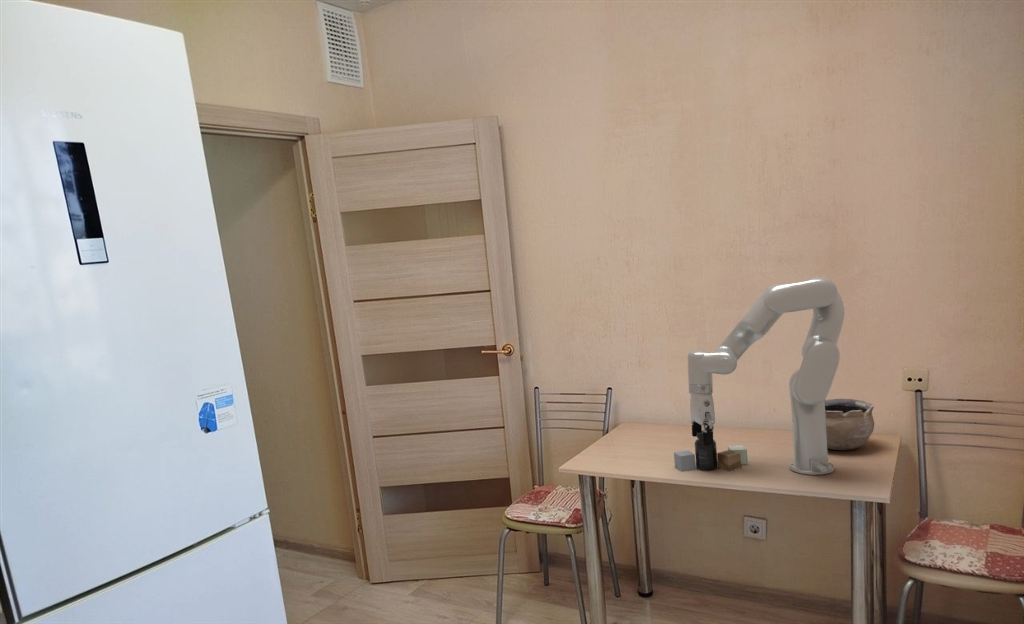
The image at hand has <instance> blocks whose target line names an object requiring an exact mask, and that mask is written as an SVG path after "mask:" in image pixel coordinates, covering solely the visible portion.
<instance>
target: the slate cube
mask: <svg viewBox="0 0 1024 624" xmlns="http://www.w3.org/2000/svg"><path fill="white" fill-rule="evenodd" d="M673 457H674V467H675V468H676V467H677V468H678V469H677V468H676V469H677V470H679V471H680V470H681V471H680V472H684V471H685V470H686V471H691V470H692V469H693V470H696V468H697V467H696V456H695V453H693V452H692V451H690V450H679V451H674V452H673Z"/></svg>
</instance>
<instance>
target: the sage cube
mask: <svg viewBox="0 0 1024 624" xmlns="http://www.w3.org/2000/svg"><path fill="white" fill-rule="evenodd" d="M727 450H731V451H734V452H738V453H740V459H741V465H748V464H749V463H748V462H749V461H748V449H747V448H746V447H745V445H743V444H742V445H740V444H739V445H737V444H736V445H727Z"/></svg>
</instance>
